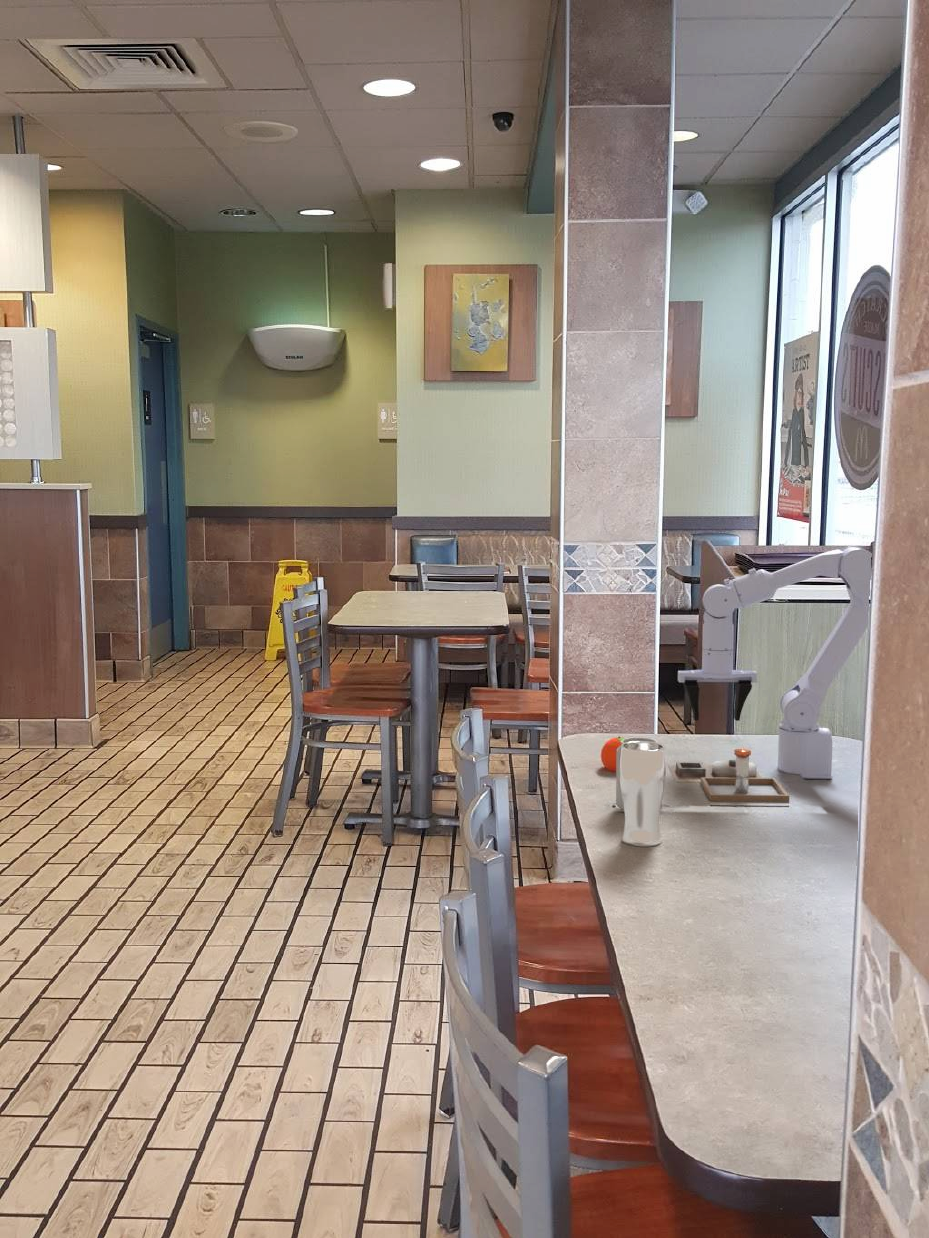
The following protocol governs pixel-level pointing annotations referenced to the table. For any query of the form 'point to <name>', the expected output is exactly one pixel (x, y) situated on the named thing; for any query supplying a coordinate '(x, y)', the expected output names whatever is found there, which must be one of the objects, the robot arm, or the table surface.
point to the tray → (745, 797)
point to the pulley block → (708, 770)
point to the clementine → (610, 753)
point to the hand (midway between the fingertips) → (716, 719)
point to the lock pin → (742, 770)
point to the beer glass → (642, 791)
